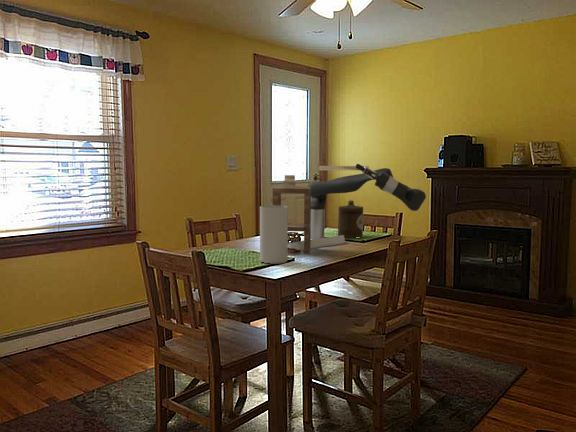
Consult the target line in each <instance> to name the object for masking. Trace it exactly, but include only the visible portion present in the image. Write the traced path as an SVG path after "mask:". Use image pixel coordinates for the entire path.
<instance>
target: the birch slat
mask: <svg viewBox="0 0 576 432" xmlns="http://www.w3.org/2000/svg"><path fill="white" fill-rule="evenodd" d="M362 166H363V167H364V168H365V167H366V168H368V169H370V168H369V165H362ZM318 171H360V170H359V169H357V168H356V165H319V166H318Z"/></svg>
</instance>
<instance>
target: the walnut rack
mask: <svg viewBox="0 0 576 432" xmlns="http://www.w3.org/2000/svg"><path fill="white" fill-rule="evenodd" d="M282 194H285V195H286V194H290V195H291V194H293V195H294V194H299V195H301V194H302V195H303V196H304V197H303V198H304V199H303V201H304V203H303V208H304V209H303V211H304V212H303V216H304V217H303V223H300V222H297V223H293V222H288V232H303V241H304V249H303V254H304V255H305V254H307V255H308V254H310V250H311V248H310V245H311V240H312V239H311V201H312V197H311V187H307V186H295V187H283V186H274V187H273V188H272V205H278V206H282Z"/></svg>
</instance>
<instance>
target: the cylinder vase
mask: <svg viewBox="0 0 576 432" xmlns="http://www.w3.org/2000/svg"><path fill="white" fill-rule="evenodd" d="M288 207H289V206H288V205H281V206H278V205H273V204H272V205H260V206H259V261H260V262H261V263H262V262H264V263H263V264H267V263H270V264H269V265H278V264H285V263H287V262H288V258H289V257H288V250H289V249H288V244H289V242H288V237H289V235H288V233H289V231H288V223H289V221H288V217H289V216H288V213H289V209H288Z"/></svg>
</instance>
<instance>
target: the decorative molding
mask: <svg viewBox="0 0 576 432" xmlns="http://www.w3.org/2000/svg"><path fill="white" fill-rule="evenodd" d="M342 244H346V238H344V235H341V236H338V235H337V236H329V237H324V238H319V239H311V245H310V249H315V248H316V249H317V248H321V247H327V246H335V245H342ZM288 248H289V249H295V250H298V251H301V250H303V251H304V240H298V241H294V242H288Z"/></svg>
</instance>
